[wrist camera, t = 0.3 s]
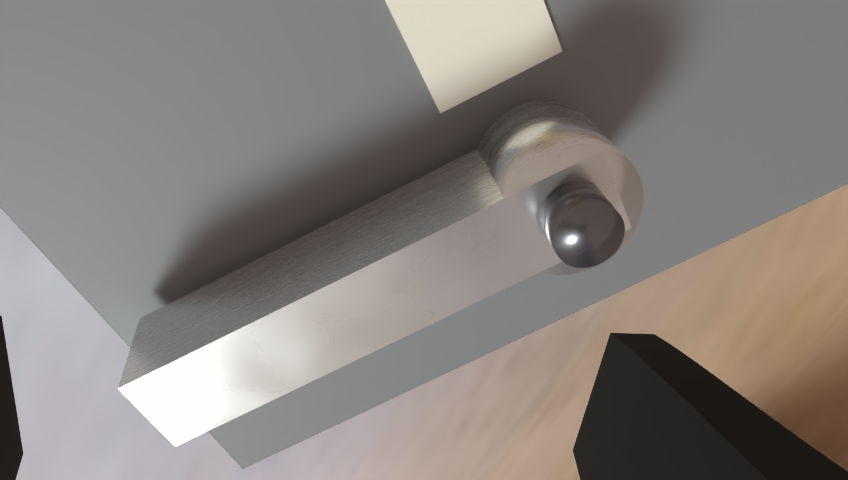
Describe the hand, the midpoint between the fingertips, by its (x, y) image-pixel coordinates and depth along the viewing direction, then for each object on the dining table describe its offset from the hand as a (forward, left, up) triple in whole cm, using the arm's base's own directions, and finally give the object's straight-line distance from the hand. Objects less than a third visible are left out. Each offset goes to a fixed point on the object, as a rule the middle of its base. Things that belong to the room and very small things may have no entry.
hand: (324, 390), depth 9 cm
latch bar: (-3, 0, -8) cm, 8 cm away
